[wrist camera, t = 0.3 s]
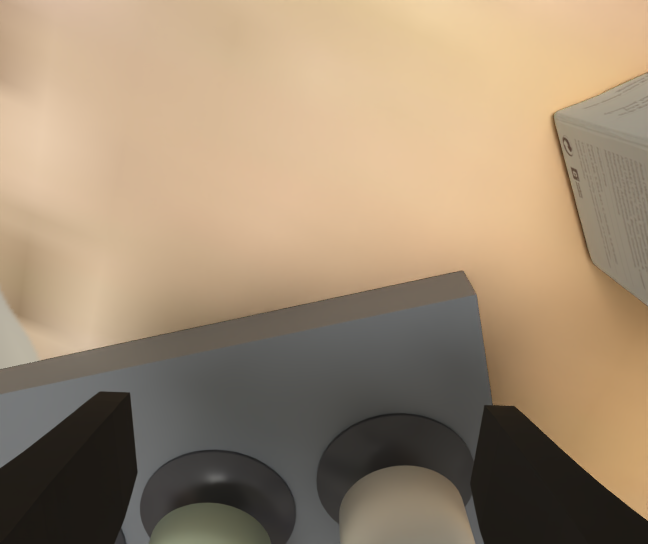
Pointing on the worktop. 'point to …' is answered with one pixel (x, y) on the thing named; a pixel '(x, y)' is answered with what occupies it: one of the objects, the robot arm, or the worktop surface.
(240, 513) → the button sage
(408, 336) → the panel
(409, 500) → the button cream
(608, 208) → the skincare box
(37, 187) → the worktop surface
